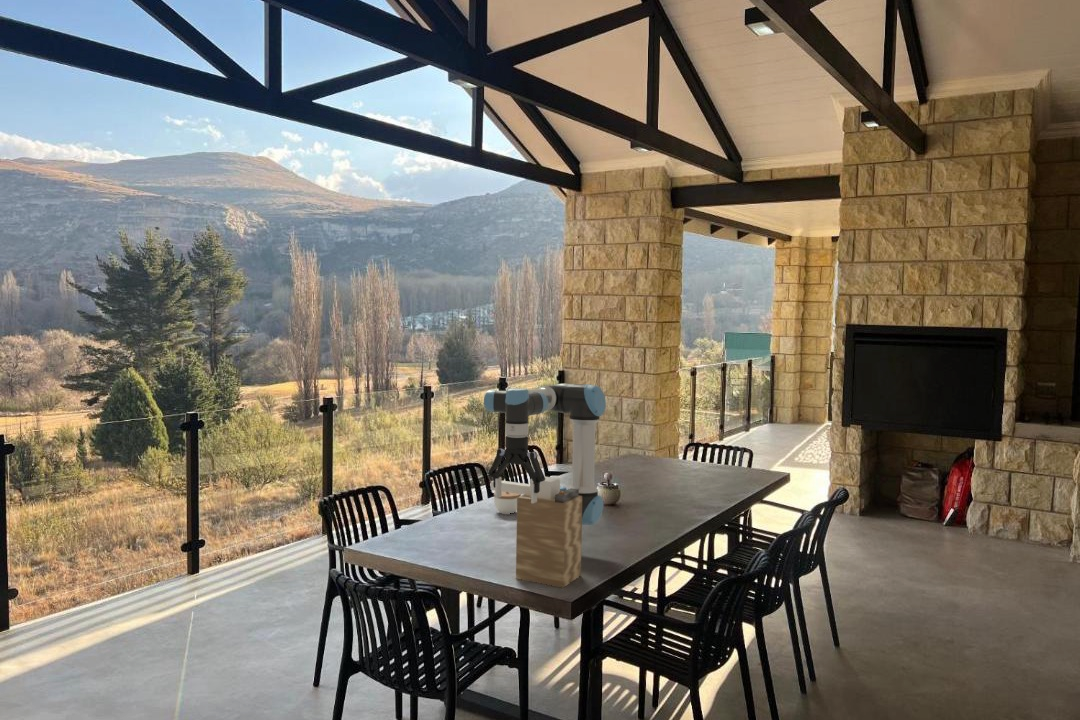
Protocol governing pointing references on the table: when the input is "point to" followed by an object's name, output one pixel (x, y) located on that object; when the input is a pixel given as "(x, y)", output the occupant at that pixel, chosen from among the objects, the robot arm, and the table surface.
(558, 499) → the cabinet
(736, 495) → the table surface
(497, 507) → the lidded bowl
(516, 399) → the robot arm
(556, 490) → the white long stepped block
